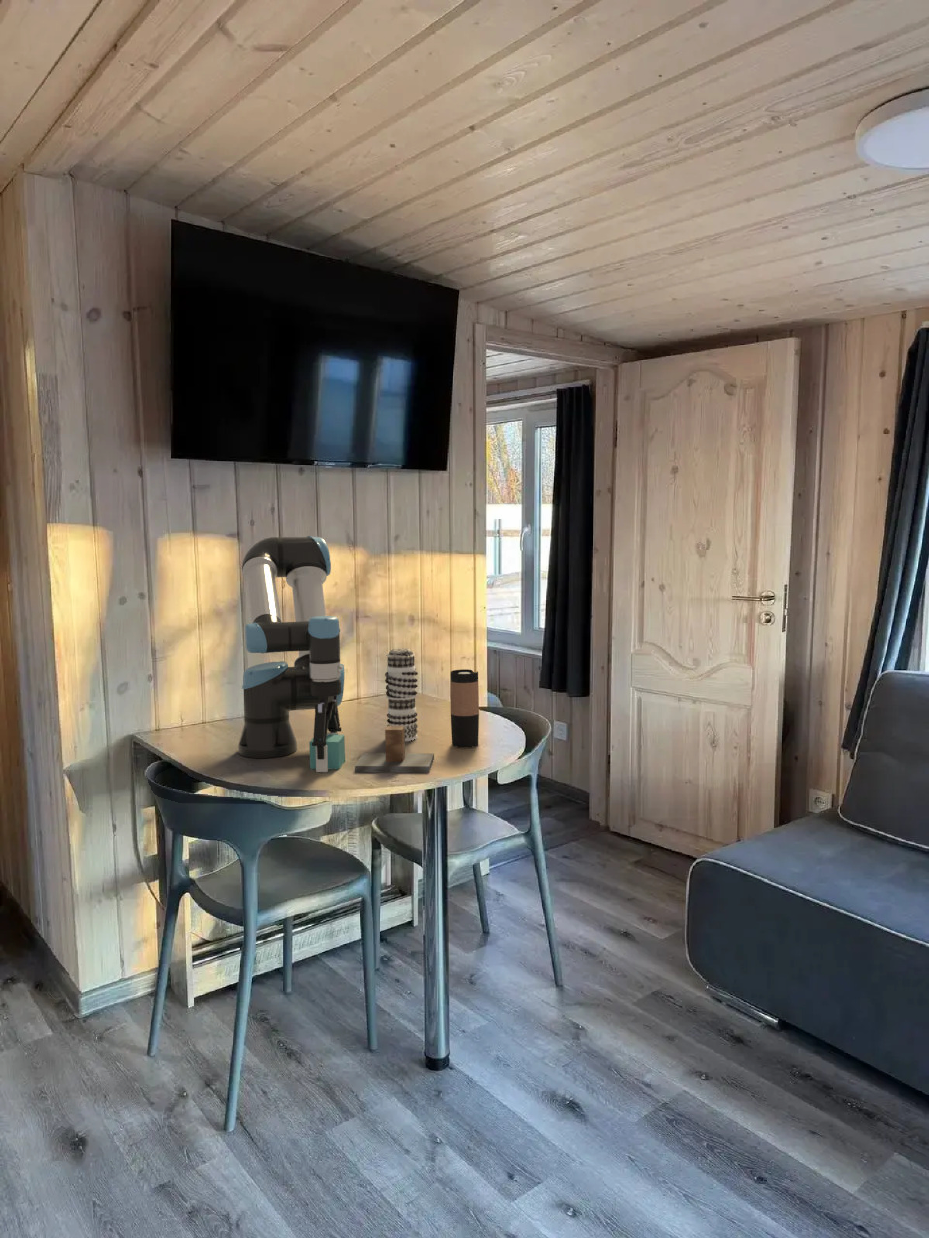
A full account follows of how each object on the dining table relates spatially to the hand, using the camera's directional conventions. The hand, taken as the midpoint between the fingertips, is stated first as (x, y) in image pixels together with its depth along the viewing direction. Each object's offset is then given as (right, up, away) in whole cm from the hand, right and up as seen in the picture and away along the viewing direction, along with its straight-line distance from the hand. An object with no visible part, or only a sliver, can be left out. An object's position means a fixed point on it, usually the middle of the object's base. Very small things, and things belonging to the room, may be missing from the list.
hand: (327, 764), depth 214 cm
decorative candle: (+17, +3, +27) cm, 32 cm away
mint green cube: (0, 0, 0) cm, 0 cm away
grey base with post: (+17, 0, -1) cm, 17 cm away
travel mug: (+34, +2, +19) cm, 39 cm away
